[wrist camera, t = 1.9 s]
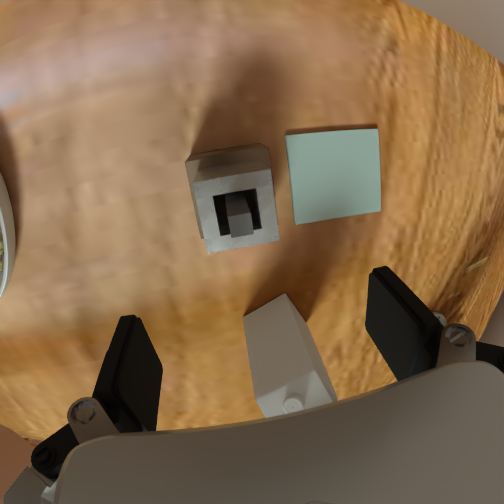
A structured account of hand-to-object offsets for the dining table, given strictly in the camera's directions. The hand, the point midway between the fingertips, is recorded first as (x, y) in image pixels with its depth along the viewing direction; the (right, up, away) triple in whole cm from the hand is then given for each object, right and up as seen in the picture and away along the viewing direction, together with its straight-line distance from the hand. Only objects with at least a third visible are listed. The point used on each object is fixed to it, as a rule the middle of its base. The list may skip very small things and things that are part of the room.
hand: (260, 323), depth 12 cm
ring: (-2, +8, +17) cm, 19 cm away
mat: (+10, +12, +24) cm, 29 cm away
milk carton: (+3, -7, +32) cm, 33 cm away
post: (-3, +11, +23) cm, 25 cm away
